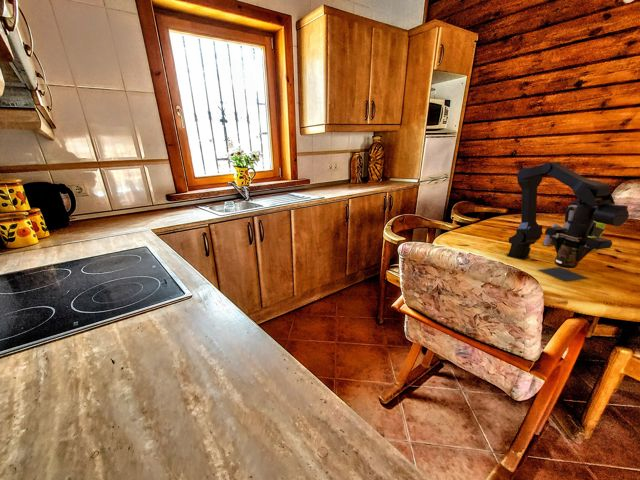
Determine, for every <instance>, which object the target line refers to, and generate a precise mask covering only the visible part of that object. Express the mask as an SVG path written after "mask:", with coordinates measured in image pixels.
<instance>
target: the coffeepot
mask: <svg viewBox="0 0 640 480" xmlns="http://www.w3.org/2000/svg"><path fill="white" fill-rule="evenodd" d="M576 207H577V205H572V204H570V205H568V207H567V208H566V210H565V211H564V223H563V226H562V227H563V228H566V229H567V230H568V229H569V226H570V224H569V223H568V221H570V220H572V218H573V215H574V213H575V210H576Z"/></svg>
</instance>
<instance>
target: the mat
mask: <svg viewBox="0 0 640 480" xmlns="http://www.w3.org/2000/svg"><path fill="white" fill-rule="evenodd" d="M538 271H540V272H542V273H544V274H547V275H549V276H551V277H554V278H556V279H559V280H561V281H563V282H569V281H574V280H575V281H576V280H583V279H587V277H586V276H584V275H581V274H578V273H576V272H573V271H571V270H568V269H566V268H564V267H560V266H558V267H552V268H545V269H539V270H538Z"/></svg>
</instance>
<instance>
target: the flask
mask: <svg viewBox="0 0 640 480" xmlns="http://www.w3.org/2000/svg"><path fill="white" fill-rule="evenodd" d="M557 226H559V227H562V225H560V224H558V223H556V222H552V226H550V227H557ZM545 235H546V234H545ZM542 245H543V246H546V247H550V246H552V245H554V243H553V241H552V238H550V236H549V235H546V236H545V238H544V241H543V244H542Z"/></svg>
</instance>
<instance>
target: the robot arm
mask: <svg viewBox="0 0 640 480" xmlns="http://www.w3.org/2000/svg"><path fill="white" fill-rule="evenodd" d="M548 175H549V176H550V177H551V178H553V179H555V180H556V181H559V182H560V183H561V184H563V185H565V186H567V187H569V188H570V189H571V190H572V192H573V195H574V196H576V198H577V199H575V200H574V201H572V202H570V205H577V207H576V210H575V213H574V215H573V218H572V220H570V221H568V223H569V224H570V226H569V229H568V230H567V229H566V228H563V226H561V227H559V226H557V227H551V226H549V227H547V228H546V229H545V232H544V233H543V228H544V227H543V225H542V224H541V225H539V224H538V222H537V208H538V207H537V205H538V204H537V203H538V188H539V186H540V184H541V183H542V181H543V177H546V176H548ZM516 180H517V185H518V186H519V187H520V189H521V214H520V215H521V217H520V223H519V225H518V226H517V228H516V232H515V234H514V235H512V236H510V237H508V243H509V244H510V248H509V251H508V254H506V256H507V257H511V258H515V259H520V260H525V259H527V258H528V257H529V256H530V253H531V250H532V247H531V245H535V244H536V242H537V241H539V240H541V238H542V235H549V236H550V238H552V241H553V245H554V249H555V253H556V254H557V253H558V251H559V248H560V246H561V242H562V240H563V238H572V239H576V240H579V241H583V242H586V243H585V245H581V246H580V247H579V251H578V255H577V260H576V261H577V262H579V263H580V262H581V261H582V260H583V259H584V258H586V256H587V255H588V254H590V253H591V252H593V251H592V250H593V249H596V250H607V249H610V248H612V247H613V241H612V239H609V238H605V237H602V235H603V233H604V231H605V228H604V229H601V228H599V227H596V222H599V223H603V224H606V225H608V226H614V227H620V226H622V225H623V224H625V223H626V222H627V220H628V219H629V217H630V212H629V210H628V207H629V206H628V205H626V204H616V202H615V200H614V198H613V197H614V196H613V194H612V191H611V186H610V184H608V183H606V182H602V181H599V180H595V179H590V178H586V177H585V176H582V175H581V174H579V173H577V172H575V171H573V170H572V169H569V168H568V167H566V166H564V165H562V164H561V163H560V162H559V161H551V162H546V163H543V164H540V165H536V166H531V167H530V166H529V167H523V168H521V169H520V170H519V171H518V172H517V174H516ZM594 221H595V222H594ZM602 232H603V233H602ZM601 234H602V235H601ZM600 235H601V237H599V236H600ZM588 236H590V237H591V236H595V237H597V238H589V237H588Z"/></svg>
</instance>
